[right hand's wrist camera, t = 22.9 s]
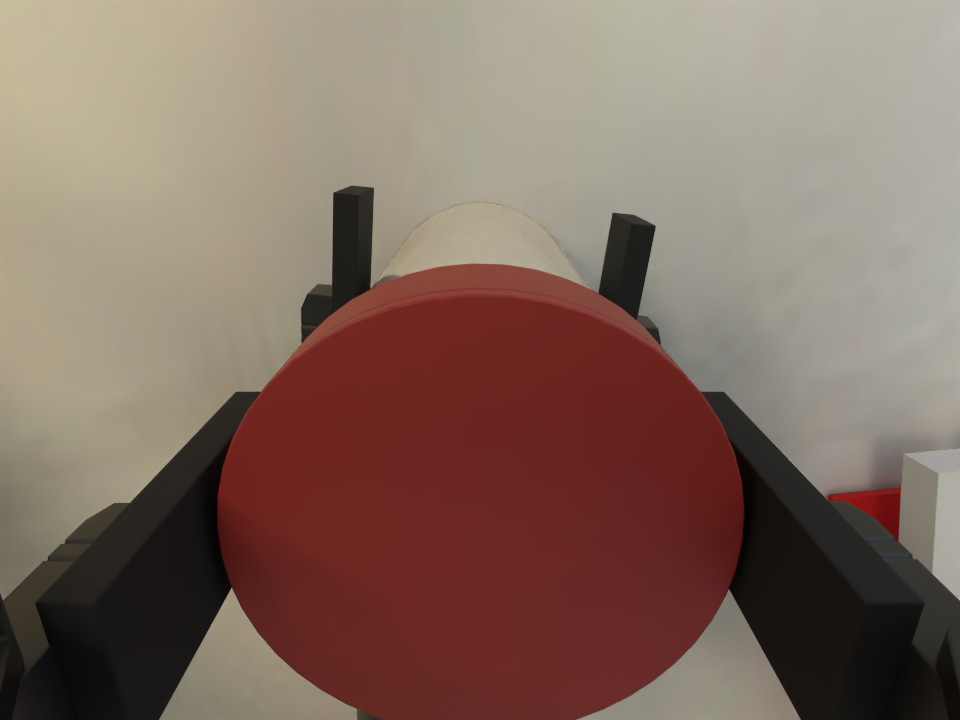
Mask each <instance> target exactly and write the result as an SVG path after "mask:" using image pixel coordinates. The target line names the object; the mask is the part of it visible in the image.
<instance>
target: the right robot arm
mask: <svg viewBox="0 0 960 720" xmlns="http://www.w3.org/2000/svg"><path fill="white" fill-rule="evenodd" d="M260 393H261V392H236V393H235V394H234V395H233V396H232V397H231V398H230V399H229V400H228V401H227V402H226V403H225V404H224V405H223V406H222V407H221V408H220V409H219V410H218V411H217V412H216V414H215V415H214V416H213V417H212V418H211V419H210V420H209V421H208V422H207V423H206V424H205V425H204V426H203V427H202V428H201V429H200V430H199V431H198V432H197V433H196V434H195V436H194V437H193V438H192V439H191V440H190V441H189V442H188V443H187V444H186V445H185V446H184V447H183V448H182V449H181V450H180V451H179V452H178V453H177V454H176V455H175V456H174V458H173V459H172V460H171V461H170V462H169V463H168V464H167V465H166V466H165V467H164V468H163V469H162V470H161V471H160V472H159V473H158V474H157V475H156V476H155V477H154V478H153V480H152V481H151V482H150V483H149V484H148V485H147V486H146V487H145V488H144V489H143V490H142V491H141V492H140V493H139V494H138V495H137V496H136V497H135V498H134V499H133V501H132V502H131V503H114V504H112V505H111V506H109V507H107V508H105V509H104V510H102V511H100V512H99V513H97V514H95V515H94V516H92V517H90V518H89V519H87V520H85V521H84V522H83V523H82V524H81V525H80V526H79V527H78V528H77V529H76V530H75V531H74V532H73V533H72V534H71V535H70V536H69V537H68V538H67V539H66V540H65V544H61V545H60V546H59V547H58V548H57V549H56V550H55V551H54V552H53V553H52V554H51V555H50V556H48V561H43V562H42V563H41V564H40V565H39V566H38V567H37V568H36V569H35V570H34V571H33V572H32V573H31V574H30V575H29V576H28V577H27V578H26V579H25V580H24V581H23V582H22V583H21V584H20V585H19V586H18V587H17V588H16V589H15V590H14V591H13V592H12V593H10V594H9V595H8V596H7V597H6V598H5V599H4V600H2V598H1V595H0V720H159V719H160V717H161V715H162V713H163V711H164V710H165V708H166V706H167V704H168V702H169V700H170V699H171V697H172V695H173V693H174V691H175V690H176V688H177V686H178V684H179V682H180V680H181V679H182V677H183V675H184V673H185V671H186V670H187V668H188V666H189V664H190V662H191V660H192V659H193V657H194V655H195V653H196V651H197V650H198V648H199V646H200V644H201V642H202V640H203V639H204V637H205V635H206V633H207V631H208V630H209V628H210V626H211V624H212V622H213V620H214V619H215V617H216V615H217V613H218V611H219V610H220V608H221V606H222V604H223V602H224V600H225V599H226V597H227V595H228V593H229V591H230V590H231V588H232V587H231V584H230V582H229V579H228V575H227V572H226V569H225V566H224V563H223V559H222V556H221V549H220V543H219V536H218V529H217V497H218V492H219V486H220V480H221V474H222V468H223V465H224V462H225V459H226V456H227V453H228V450H229V447H230V445H231V442H232V439H233V437H234V435H235V433H236V431H237V429H238V427H239V426H240V424H241V422H242V420H243V418H244V416H245V414H246V412H247V410H248V409H249V408H250V406H251V405H252V404H253V402H254V401H255V400H256V398H257V397H258V396H259V394H260ZM701 393H702V394H703V396H704V397H705V398H706V400H707V402H708V403H709V405H710V406H711V408H712V409H713V411H714V413H715V414H716V416H717V417H718V419H719V420H720V422H721V423H722V426H723V428H724V430H725V432H726V435H727V437H728V439H729V442H730V444H731V446H732V448H733V451H734V453H735V457H736V461H737V465H738V469H739V473H740V477H741V481H742V489H743V500H744V511H745V513H744V528H743V542H742V546H741V550H740V555H739V559H738V564H737V568H736V571H735V574H734V576H733V579H732V581H731V584H730V587H729V590H730V591H731V593H732V595H733V597H734V599H735V601H736V602H737V604H738V606H739V608H740V610H741V611H742V613H743V615H744V617H745V619H746V621H747V622H748V624H749V626H750V628H751V630H752V631H753V633H754V635H755V637H756V639H757V640H758V642H759V644H760V646H761V648H762V650H763V651H764V653H765V655H766V657H767V659H768V660H769V662H770V664H771V666H772V668H773V670H774V671H775V673H776V675H777V677H778V679H779V680H780V682H781V684H782V686H783V688H784V690H785V691H786V693H787V695H788V697H789V699H790V700H791V702H792V704H793V706H794V708H795V710H796V711H797V713H798V715H799V717H800V719H801V720H960V600H959V599H958V598H957V597H956V596H955V595H954V594H953V593H952V592H951V591H949V590H948V589H947V588H946V587H945V586H944V585H943V584H942V583H941V582H940V581H939V580H938V579H937V578H936V577H935V576H934V575H933V574H932V573H931V572H930V571H929V570H928V569H927V568H926V567H925V566H924V565H923V564H922V563H921V562H920V561H918V560H917V559H913V557H912V556H913V555H912V554H911V553H910V552H909V551H908V550H907V549H906V548H905V547H904V546H903V545H902V544H901V543H900V542H896V541H895V537H894V536H893V535H892V534H891V533H890V532H889V531H887V530H886V529H885V528H884V527H883V526H882V525H881V524H880V523H879V522H878V521H877V520H876V519H875V518H874V517H872V516H870V515H868V514H867V513H865V512H863V511H862V510H860V509H858V508H857V507H855V506H853V505H852V504H850V503H848V502H846V501H827V499H826V498H825V497H824V496H823V495H822V494H821V493H820V492H819V491H818V490H817V489H816V488H815V487H814V486H813V485H812V484H811V483H810V482H809V481H808V480H807V479H806V477H805V476H804V475H803V474H802V473H801V472H800V471H799V470H798V469H797V468H796V467H795V466H794V465H793V464H792V463H791V462H790V461H789V460H788V459H787V458H786V456H785V455H784V454H783V453H782V452H781V451H780V450H779V449H778V448H777V447H776V446H775V445H774V444H773V443H772V442H771V441H770V440H769V439H768V438H767V437H766V436H765V434H764V433H763V432H762V431H761V430H760V429H759V428H758V427H757V426H756V425H755V424H754V423H753V422H752V421H751V420H750V419H749V418H748V417H747V416H746V415H745V414H744V412H743V411H742V410H741V409H740V408H739V407H738V406H737V405H736V404H735V403H734V402H733V401H732V400H731V399H730V398H729V397H728V396H727V395H726V394H725V393H724V392H701Z"/></svg>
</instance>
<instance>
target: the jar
mask: <svg viewBox="0 0 960 720" xmlns="http://www.w3.org/2000/svg"><path fill="white" fill-rule="evenodd" d="M470 263H477V264H505V265H512V266H518V267H524V268H530V269H536V270H540V271H543V272H546V273H550V274H553V275H556V276H560V277H563V278H566V279H569V280H571V281H573V282H575V283H578V284H580V285H582V286H584V287H586V288H589V287H588V286H587V284H586V283H585V281H584V280H583V279H582V277H581V276H580V275H579V273H578V272H577V270H576V269H575V268H574V266H573V265H572V263H571V262H570V261H569V259H568V258H567V256H566V255H565V254H564V252H563V251H562V249H561V248H560V247H559V245H558V244H557V243H556V241H555V240H554V238H553V237H552V236H551V235H550V234H549V233H548V232H547V231H546V229H545V228H543V227H542V226H541V225H540V224H539V223H537V222H536V221H535V220H533V219H532V218H530V217H529V216H527V215H526V214H524V213H521V212H519V211H517V210H515V209H512V208H509V207H506V206H502V205H497V204H491V203H471V204H463V205H459V206H455V207H451V208H448V209H446V210H443V211H441V212H439V213H437V214H435V215H433V216H432V217H430V218H428V219H427V220H426V221H424V222H423V223H422V224H420V225H419V226H418V227H417V228H416V229H415V230H414V231H413V232H412V233H411V234H410V235H409V237H408V238H407V239H406V241H405V242H404V243H403V245H402V246H401V247H400V249H399V250H398V252H397V253H396V254H395V256H394V257H393V259H392V260H391V261H390V263H389V264H388V266H387V267H386V268H385V270H384V271H383V273H382V274H381V275H380V277H379V278H378V280H377V281H376V282H375V284H374V285H373V287H372V288H371V289H373V288H374V287H376V286H378V285H380V284H383V283H386V282H388V281H391V280H394V279H396V278H399V277H401V276H404V275H407V274H410V273H414V272H419V271H423V270H427V269H431V268H436V267H440V266H450V265H460V264H470ZM371 289H370V290H371ZM589 289H590V288H589Z"/></svg>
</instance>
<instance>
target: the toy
mask: <svg viewBox="0 0 960 720" xmlns="http://www.w3.org/2000/svg"><path fill="white" fill-rule="evenodd" d="M829 501H846V502H848V503H850V504H852V505H853V506H855V507H857V508H858V509H860V510H862V511H863V512H865V513H867V514H868V515H870V516H872V517H874V518H875V519H876V520H877V521H878V522H879V523H880V524H881V525H882V526H883V527H884V528H885V529H886V530H887V531H889V532H890V533H891V534H892V535H893V536H894V537H895V541H896V542H900V543H901V544H902V545H903V546H904V547H905V548H906V549H907V550H908V551H909V552H910V553H911V554H912V555H913V556H912V557H913V559H917V560H918V561H920V562H921V563H922V564H923V565H924V566H925V567H926V568H927V569H928V570H929V571H930V572H931V573H932V574H933V575H934V576H935V577H936V578H937V579H938V580H939V581H940V582H941V583H942V584H943V585H944V586H945V587H946V588H947V589H948V590H949V591H951V592H952V593H953V594H954V595H955V596H956V597H957V598H958V599H959V600H960V448H956V449H945V450H935V451H924V452H913V453H903V460H902V480H901V488H893V489H884V490H875V491H866V492H857V493H848V494H839V495H830V496H829Z"/></svg>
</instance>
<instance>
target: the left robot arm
mask: <svg viewBox="0 0 960 720" xmlns="http://www.w3.org/2000/svg"><path fill="white" fill-rule="evenodd" d="M373 199H374V188H370V187H360V186H350V187H347V188H344V189H342V190H339V191H337V192H334V193H333V266H332V285H322V284H318V285H317V286H316V287H315V288H314V289H312V290H311V291H310V292H309V293H308V294H307V296H306V299H305V301H304V303H303V306H302V308H301V324H302V326H301V332H302V343H303V342H304V341H305V339H306V338H307V337H308V336H309V335H310V334H311V333H312V332H313V331H314V330H315V329H316V328H317V327H318V326H319V325H320V324H322V323H323V322H324V321H325V320H326V319H327V318H328V317H329V316H330V315H332V314H333V313H334V312H336V311H337V310H339V309H340V308H341V307H343V306H344V305H345V304H347V303H348V302H349V301H351V300H352V299H354V298H356V297H358V296H360V295H361V294H363V293H365V292H367V291H369V290H370V282H371V254H372V227H373ZM655 228H656V226H655V225H653V224H651V223H649V222H647V221H645V220H643V219H641V218H639V217H637V216H635V215H629V214H619V213H613V214H612V220H611V225H610V231H609V237H608V242H607V248H606V254H605V259H604V265H603V271H602V276H601V282H600V288H599V294H600V295H602V296H603V297H605V298H606V299H608V300H610V301H611V302H613V303H614V304H616V305H618V306H619V307H621V308H622V309H623V310H624V311H626V312H627V313H628V314H629V315H630V316H632V317H633V318H634V319H635V320H636V321H637V322H639V323H640V324H641V325H642V326H643V327H644V328H645V329H646V330H647V331H648V332H649V333H650V334H651V336H652V337H653V338H654V339H655V340H656V341H657V342H658V343H659V345H661V342H660V336H659V331H658V328H657V327H656V326H655V325H654V324H653V323H652V322H651V320H650V319H649V318H648V317H646V316H638V311H639V306H640V301H641V296H642V292H643V287H644V282H645V277H646V272H647V267H648V262H649V257H650V252H651V247H652V242H653V237H654V232H655ZM357 720H386V719H383V718H379V717H376V716H373V715H371V714H368V713H366V712H364V711H361V710H359V709H357Z"/></svg>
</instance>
